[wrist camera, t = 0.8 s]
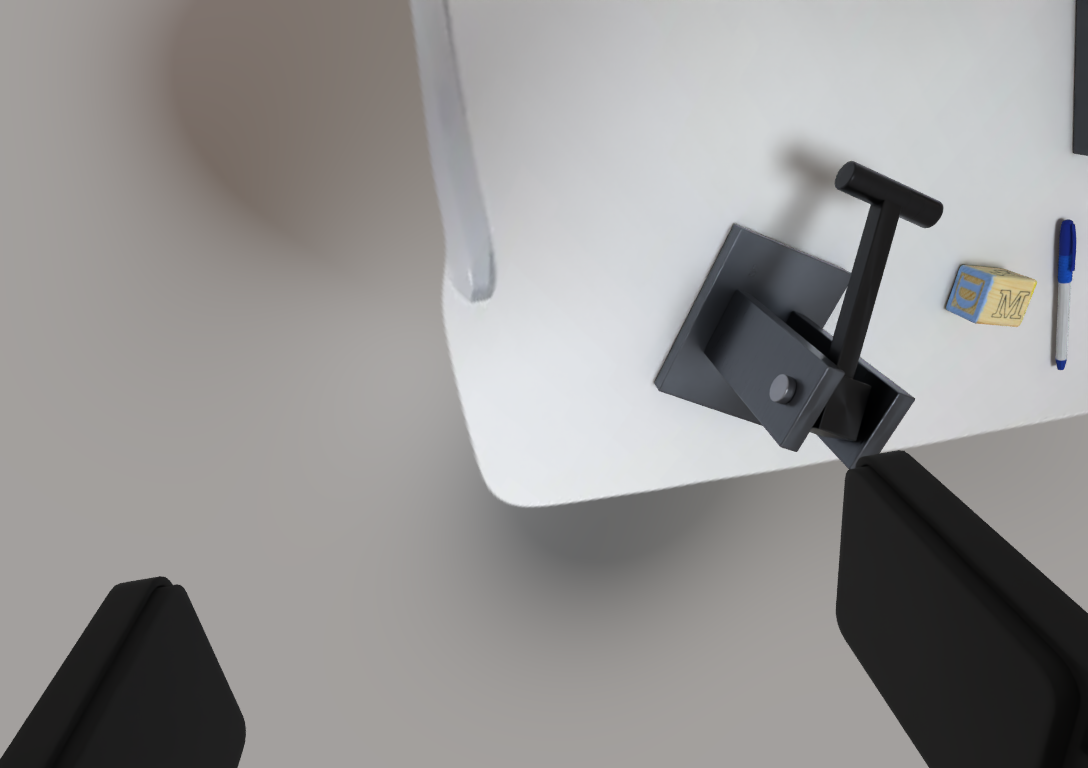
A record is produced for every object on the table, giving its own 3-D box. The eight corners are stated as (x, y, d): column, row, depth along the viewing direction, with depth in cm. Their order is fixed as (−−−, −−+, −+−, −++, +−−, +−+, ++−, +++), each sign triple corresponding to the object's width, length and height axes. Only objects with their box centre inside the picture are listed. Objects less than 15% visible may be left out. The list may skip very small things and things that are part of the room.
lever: (832, 168, 36) (865, 153, 33) (917, 207, 37) (955, 196, 35) (760, 415, 35) (789, 418, 33) (850, 446, 36) (884, 451, 34)
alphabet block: (960, 262, 44) (993, 276, 41) (1004, 267, 44) (1040, 280, 42) (943, 308, 45) (974, 325, 43) (986, 312, 46) (1019, 329, 43)
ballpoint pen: (1054, 222, 43) (1066, 225, 42) (1068, 217, 43) (1081, 220, 42) (1052, 367, 48) (1063, 373, 47) (1065, 363, 48) (1076, 369, 47)
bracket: (734, 223, 41) (839, 288, 30) (844, 269, 43) (983, 346, 32) (653, 383, 45) (719, 495, 34) (758, 418, 47) (854, 535, 36)
